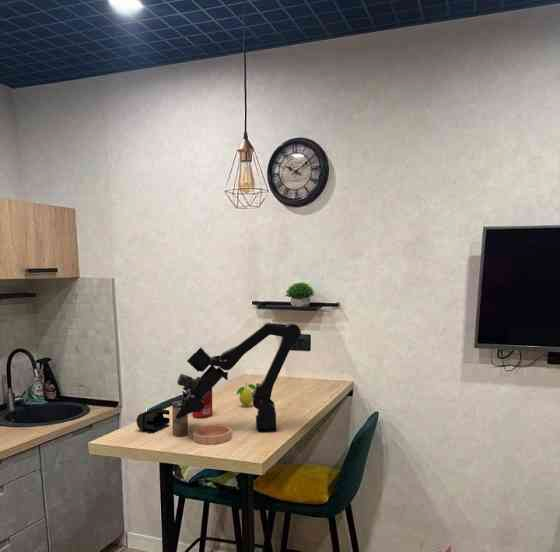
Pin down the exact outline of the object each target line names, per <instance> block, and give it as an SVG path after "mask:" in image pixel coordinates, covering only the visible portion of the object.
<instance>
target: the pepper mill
mask: <svg viewBox="0 0 560 552" xmlns="http://www.w3.org/2000/svg"><path fill="white" fill-rule="evenodd" d="M184 403H185V401H184V400H182V399H180V400H176V401H175V400H174V401H173V402H172V404H171V405H172V407H171V409H172V415H171V417H172V419H171V420H172V436H173V437H177V438H179V437H180V438H181V437H185V436H188V434H189V414H187V415H185V416H183V417H181V418H179V419H177V418H176V415H177V413H178V412H179V411H180V409H181V408H182V406H183V405H184Z"/></svg>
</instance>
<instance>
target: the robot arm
mask: <svg viewBox="0 0 560 552" xmlns="http://www.w3.org/2000/svg"><path fill="white" fill-rule="evenodd" d="M301 335H302V331H301V329H300V327H299V325H298V324H296V323H293V322H288V323H287V324H282V323H272V322H266V323H264V324H263V325H262V326H261V327H260V328H259V329H257V330H256V331H255V332H253V333H252V334H251V335H250V336H248V337H247V338H245V339H244V340H243V341H242V342H241V343H239V344H238V345H236V346H234V347H231V348H229V349H227V350H226V351H224V352H222V353H220V355H214V356H213V355H212V356H210V355H209V354H208V353H207V352H206V351H205V350H204V348H202V347H200V348H199V349H197V350H196V351H195V352H194V353H193V354H192V355H191V356H190V357H189V358H188V359H187V360H186V362H187V363H188V364H189V365H190V366H191V367H192V368H193V369H195V371H197V373H199V372H200V373H201V372H202V373H203V374H202V375H201V376H197V377H196V378H193V377H192V376H189V375H187V374H183V373H180V374H179V377H178V379H177V381H176V383H177V385H179V386H181V387H182V389H183V390H182V398H181V400H184V401H185V403H184V405H183V406H182V408H181V409H180V411H179V412H178V413H177V415H176V418H177V419H179V418H181V417H183V416H185V415H187V414H188V415H189V414H192V412H194V411H198V410H199V411H200V412H201V410H202V409H203V408H204V402H203V400H204V397H205V396H206V395H207V393H208V392H209V391H210V392H211V391H212V392H213V389H214V388H215V386H216V385H217V383H219V382H220V381H221V379H222V378H223V379H224V380H226V381H228V379H229V378H228V377H229V376H228V374H229V372H228V371H230V370H231V369H233V368H234V367H235V366H236V365H237V364H238V362H239V361H241V358H243V356H245V354H247V353H249V351H251V350H252V349H253V348H254V347H256V346H257V345H258V344H259V343H261V342H262V341H263V340H265V339H266V338H267V337H269V336H276V337H281V339H280V342H279V345H278V349H277V351H276V353H275V356H274V358H273V359H272V362H271V364H270V365H269V368H268V370H267V373H266V374H265V377H264V379H263V381H262V382H260V383H258V382H257V383H256V384H255V387H256V388H255V390H253V391H251V392H252V397H253V401H252V405H253V407H254V408H255V409H256V410H257V415H255V427H256V429H257V432H258V433H265V432H277V431H278V429H277V411H276V406H275V402H274V401H273V400H272V399H271V397H272V393H273V388H274V385H275V383H276V380H277V379H278V377H279V374H280V372H281V370H282V368H283V365H284V363H285V361H286V360H287V358H288V355H289V353H290V351H291V349H292V348H293V347H294V346H295V345H296V343H297V342H298V341H299V339H300V337H301ZM208 367H209V368H208ZM216 367H217V368H216Z"/></svg>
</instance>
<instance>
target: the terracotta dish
mask: <svg viewBox="0 0 560 552" xmlns="http://www.w3.org/2000/svg"><path fill="white" fill-rule="evenodd" d="M232 431H233V430H232V427H229V426H228V425H224V424H208V425H207V424H206V425H202V426H198V427H197V428H195V429H193V433H192V434H193V435H192V436H193V441H194V442H195V443H196V444H200V445H203V446H204V445H206V446H207V445H208V446H211V445H213V446H214V445H221V444H224V443H227V442H229V441H231V439H232V436H233V435H232V433H233V432H232Z"/></svg>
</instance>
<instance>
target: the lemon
mask: <svg viewBox="0 0 560 552" xmlns="http://www.w3.org/2000/svg"><path fill="white" fill-rule="evenodd" d="M247 387H248V388H247ZM255 388H256V385H255V384H253V383H251V384H250V383H249V384H248V383H245V386H240V387H239V388H238V390H237V391H236V395H239V402H240V403H241V405H244V407H248V406H250V405H251V404H253V397H252V392H253V391H254V390H255ZM251 390H253V391H251Z"/></svg>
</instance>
